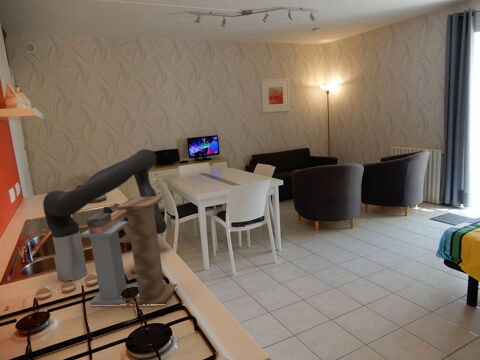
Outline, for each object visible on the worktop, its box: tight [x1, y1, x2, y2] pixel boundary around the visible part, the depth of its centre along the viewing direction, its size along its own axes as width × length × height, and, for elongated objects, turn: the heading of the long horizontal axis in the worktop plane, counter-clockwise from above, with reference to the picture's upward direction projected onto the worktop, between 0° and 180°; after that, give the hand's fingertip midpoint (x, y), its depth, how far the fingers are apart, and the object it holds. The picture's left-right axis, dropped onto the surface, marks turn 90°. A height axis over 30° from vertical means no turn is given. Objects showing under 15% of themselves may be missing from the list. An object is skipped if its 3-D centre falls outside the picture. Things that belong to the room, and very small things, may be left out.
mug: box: [76, 180, 107, 204], centre depth 253 cm, size 20×14×15 cm
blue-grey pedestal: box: [80, 221, 138, 306], centre depth 112 cm, size 12×11×24 cm
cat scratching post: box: [116, 195, 178, 305], centre depth 109 cm, size 12×11×32 cm
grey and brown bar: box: [86, 210, 127, 234], centre depth 113 cm, size 4×19×4 cm, turn 173°
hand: (116, 209), depth 117 cm, fingers open, 8 cm apart
